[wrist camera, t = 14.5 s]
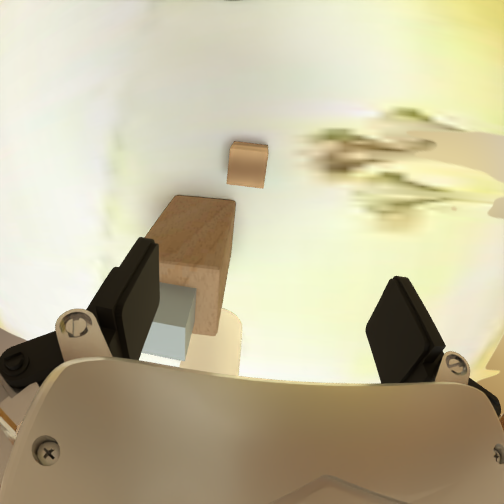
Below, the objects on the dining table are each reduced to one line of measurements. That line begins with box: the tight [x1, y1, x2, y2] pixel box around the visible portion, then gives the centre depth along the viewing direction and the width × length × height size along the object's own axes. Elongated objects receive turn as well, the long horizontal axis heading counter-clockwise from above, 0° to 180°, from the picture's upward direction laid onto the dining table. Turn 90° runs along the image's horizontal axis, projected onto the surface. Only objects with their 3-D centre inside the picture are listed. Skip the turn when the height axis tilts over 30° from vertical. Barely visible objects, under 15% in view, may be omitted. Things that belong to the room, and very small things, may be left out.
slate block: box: [142, 282, 196, 361], centre depth 30 cm, size 5×5×6 cm
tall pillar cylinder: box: [180, 308, 242, 376], centre depth 51 cm, size 11×11×25 cm
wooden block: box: [145, 195, 236, 336], centre depth 41 cm, size 10×10×20 cm
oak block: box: [227, 141, 268, 188], centre depth 42 cm, size 5×5×6 cm
